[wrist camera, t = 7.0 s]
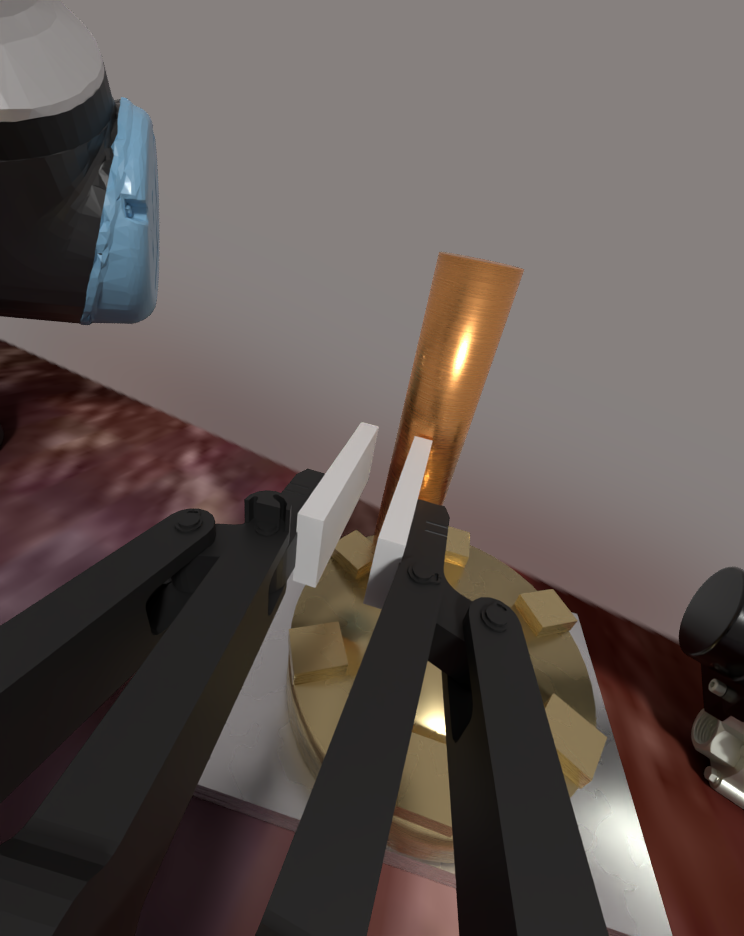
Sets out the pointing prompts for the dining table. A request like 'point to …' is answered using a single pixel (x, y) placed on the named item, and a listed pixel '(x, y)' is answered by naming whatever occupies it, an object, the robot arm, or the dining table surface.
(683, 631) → the pneumatic valve
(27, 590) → the dining table surface
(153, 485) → the dining table surface
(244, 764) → the flange plate
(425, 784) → the brass lugged disc
